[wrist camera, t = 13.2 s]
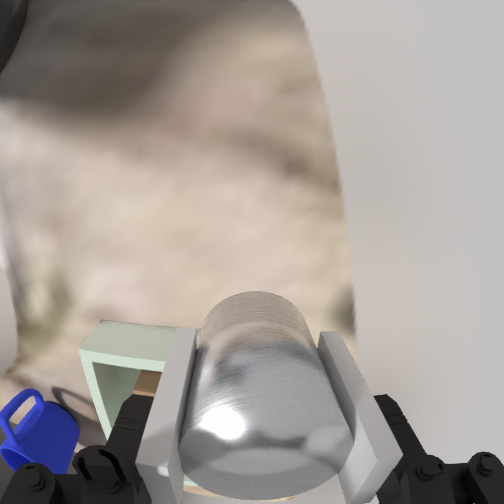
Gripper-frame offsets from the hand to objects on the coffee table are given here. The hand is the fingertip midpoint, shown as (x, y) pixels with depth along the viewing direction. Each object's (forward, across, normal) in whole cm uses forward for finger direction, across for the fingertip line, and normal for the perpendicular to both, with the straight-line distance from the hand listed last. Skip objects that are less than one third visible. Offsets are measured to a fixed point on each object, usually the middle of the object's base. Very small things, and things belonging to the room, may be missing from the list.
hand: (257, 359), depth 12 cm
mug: (+13, -23, -20) cm, 33 cm away
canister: (+2, 0, 0) cm, 2 cm away
